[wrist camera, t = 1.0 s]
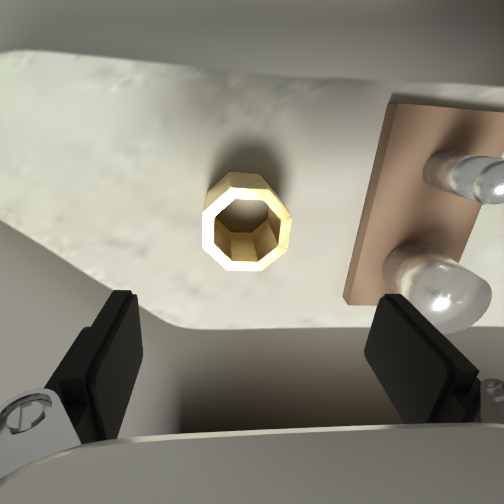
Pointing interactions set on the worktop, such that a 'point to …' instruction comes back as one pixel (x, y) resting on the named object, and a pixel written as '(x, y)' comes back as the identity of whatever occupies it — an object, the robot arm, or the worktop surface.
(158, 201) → the worktop surface
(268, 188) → the brass coupling
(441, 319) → the pair of light bulbs
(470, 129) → the pipe board
